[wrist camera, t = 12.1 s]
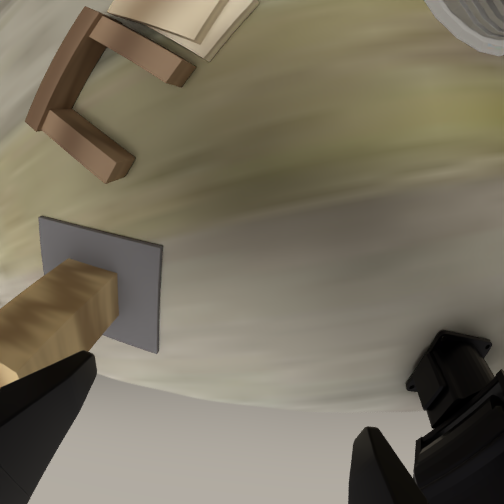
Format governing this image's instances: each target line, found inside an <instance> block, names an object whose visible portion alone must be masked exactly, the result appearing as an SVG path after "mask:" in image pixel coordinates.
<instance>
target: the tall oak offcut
mask: <svg viewBox="0 0 504 504" xmlns="http://www.w3.org/2000/svg"><path fill="white" fill-rule="evenodd" d="M118 316H119V306H118V280H117V273H115V272H111V271H108V270H105V269H101V268H98V267H95V266H92V265H88V264H85V263H82V262H79V261H76V260H73V259H70V258H68V259H67V260H65V261H64V262H63V263H61V264H60V265H58V266H57V267H55V268H54V269H53V270H51V271H50V272H48V273H47V274H46V275H44V276H43V277H42V278H40V279H39V280H37V281H36V282H35V283H33V284H32V285H31V286H29V287H28V288H27V289H25V290H24V291H23V292H21V293H20V294H19V295H18V296H16V297H15V298H14V299H12V300H11V301H10V302H9V303H7V304H6V305H5V306H4V307H2V308H1V309H0V388H1V387H2V386H5V385H7V384H9V383H11V382H14V381H16V380H18V379H20V378H22V377H25V376H27V375H29V374H31V373H34V372H36V371H38V370H40V369H42V368H45V367H47V366H49V365H51V364H53V363H56V362H58V361H60V360H62V359H64V358H66V357H69V356H71V355H73V354H75V353H77V352H79V351H82V350H85V351H89V350H90V349H91V348H92V346H93V345H94V344H95V343H96V342H97V340H98V339H99V338H100V337H101V336H102V334H103V333H104V332H105V331H106V330H107V328H108V327H109V326H110V325H111V324H112V323H113V321H114V320H115V319H116V318H117V317H118Z"/></svg>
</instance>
